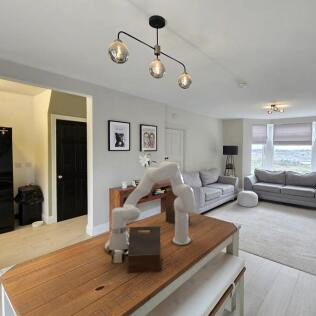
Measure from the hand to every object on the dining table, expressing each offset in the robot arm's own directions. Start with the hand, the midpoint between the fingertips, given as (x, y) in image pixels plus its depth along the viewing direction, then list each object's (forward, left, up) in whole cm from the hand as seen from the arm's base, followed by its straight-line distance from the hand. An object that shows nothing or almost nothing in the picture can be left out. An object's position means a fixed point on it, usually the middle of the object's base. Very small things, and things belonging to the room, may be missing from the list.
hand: (118, 260), depth 113 cm
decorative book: (-58, +36, -1) cm, 68 cm away
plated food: (-19, +2, -1) cm, 19 cm away
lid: (+9, +16, +15) cm, 24 cm away
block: (0, 0, 0) cm, 0 cm away
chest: (+5, +16, 0) cm, 17 cm away
